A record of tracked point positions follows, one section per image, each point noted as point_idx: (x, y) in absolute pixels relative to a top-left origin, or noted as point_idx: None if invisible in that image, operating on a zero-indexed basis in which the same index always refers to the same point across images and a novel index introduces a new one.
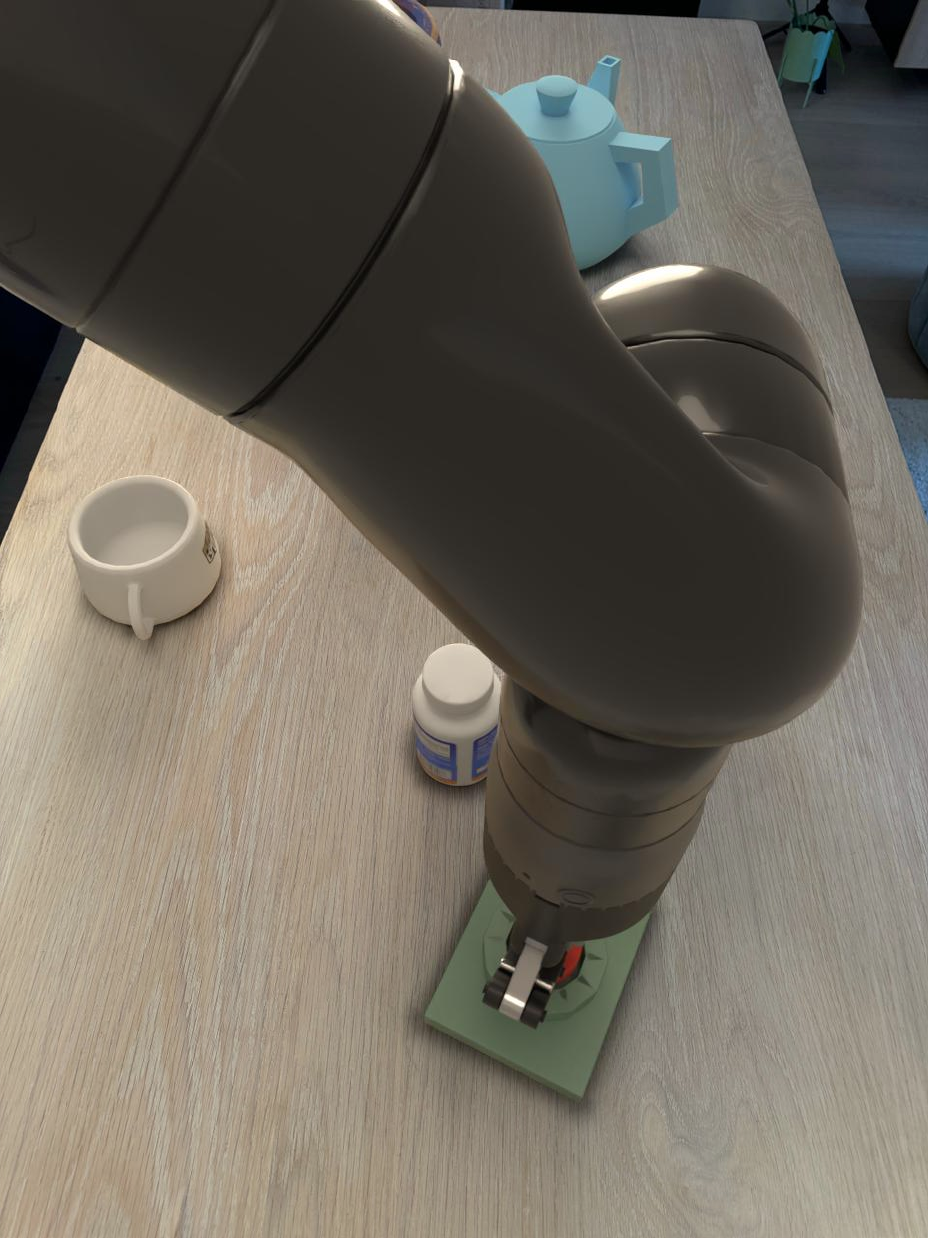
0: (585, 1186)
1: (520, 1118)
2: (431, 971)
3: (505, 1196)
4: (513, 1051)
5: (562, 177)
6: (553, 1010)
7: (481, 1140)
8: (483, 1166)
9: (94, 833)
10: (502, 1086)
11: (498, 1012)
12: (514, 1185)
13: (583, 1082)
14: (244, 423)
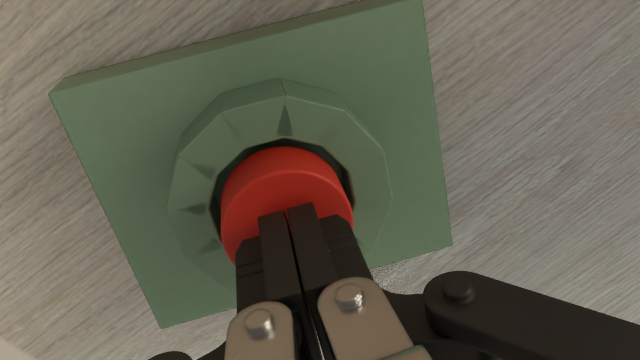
0: (98, 354)
1: (89, 262)
2: (134, 27)
3: (4, 304)
4: (131, 233)
5: None
6: (210, 274)
7: (22, 245)
8: (2, 265)
9: None
10: (98, 222)
11: (156, 183)
12: (23, 303)
13: (177, 319)
14: None
